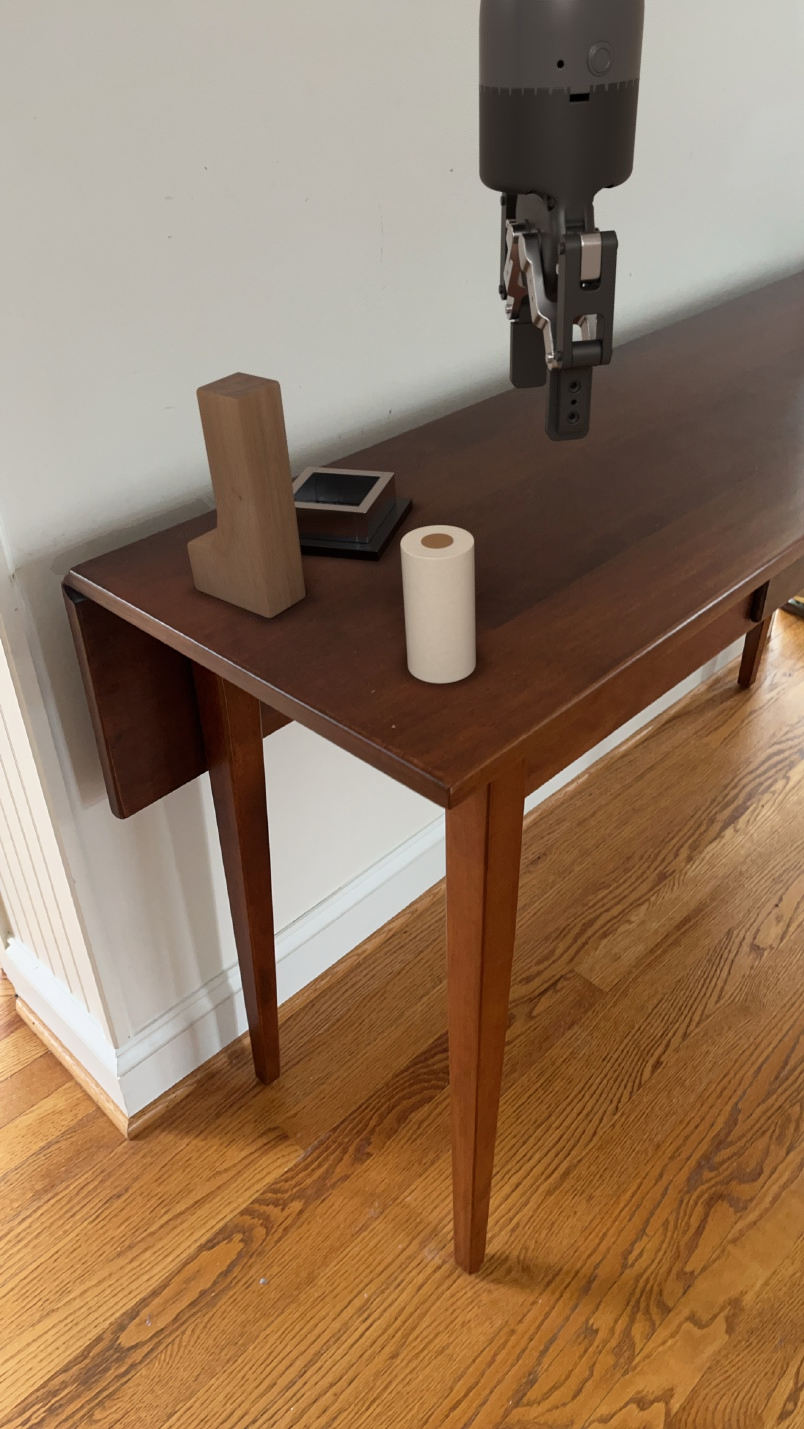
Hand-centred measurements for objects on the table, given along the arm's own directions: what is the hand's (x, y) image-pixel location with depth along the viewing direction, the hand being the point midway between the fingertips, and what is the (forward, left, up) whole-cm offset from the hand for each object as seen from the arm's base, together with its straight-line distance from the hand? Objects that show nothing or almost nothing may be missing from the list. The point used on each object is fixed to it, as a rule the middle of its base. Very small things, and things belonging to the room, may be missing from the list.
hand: (546, 410), depth 58 cm
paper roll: (-8, +4, -21) cm, 23 cm away
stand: (-23, +24, -21) cm, 39 cm away
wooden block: (-26, +11, -21) cm, 35 cm away
